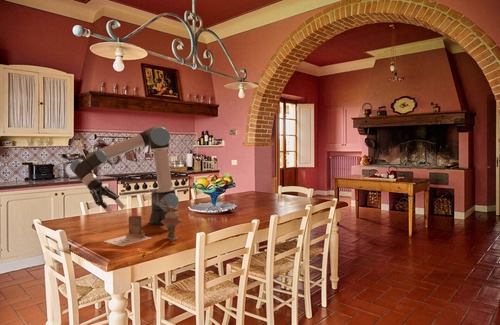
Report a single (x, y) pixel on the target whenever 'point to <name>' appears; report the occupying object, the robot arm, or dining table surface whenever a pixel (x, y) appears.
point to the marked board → (125, 240)
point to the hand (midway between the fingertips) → (117, 209)
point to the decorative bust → (170, 220)
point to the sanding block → (135, 228)
